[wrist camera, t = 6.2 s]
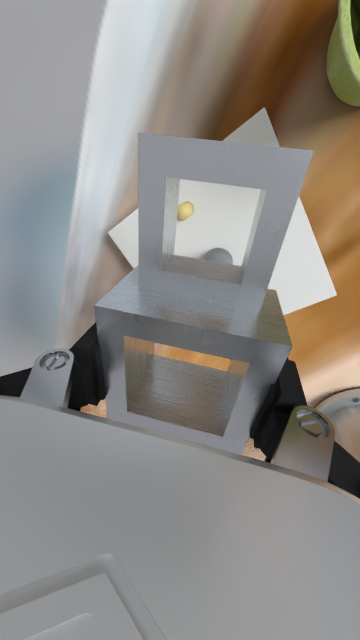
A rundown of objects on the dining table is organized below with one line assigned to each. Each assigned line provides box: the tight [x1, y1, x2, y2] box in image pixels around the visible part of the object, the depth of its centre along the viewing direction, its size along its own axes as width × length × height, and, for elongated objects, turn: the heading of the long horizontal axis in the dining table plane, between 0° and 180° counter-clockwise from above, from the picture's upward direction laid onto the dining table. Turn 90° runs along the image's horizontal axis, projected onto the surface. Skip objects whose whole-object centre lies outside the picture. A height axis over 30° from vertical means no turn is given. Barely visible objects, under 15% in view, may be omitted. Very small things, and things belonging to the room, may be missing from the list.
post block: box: [108, 107, 337, 315], centre depth 21 cm, size 16×16×6 cm
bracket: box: [94, 133, 314, 455], centre depth 11 cm, size 16×6×4 cm, turn 174°
